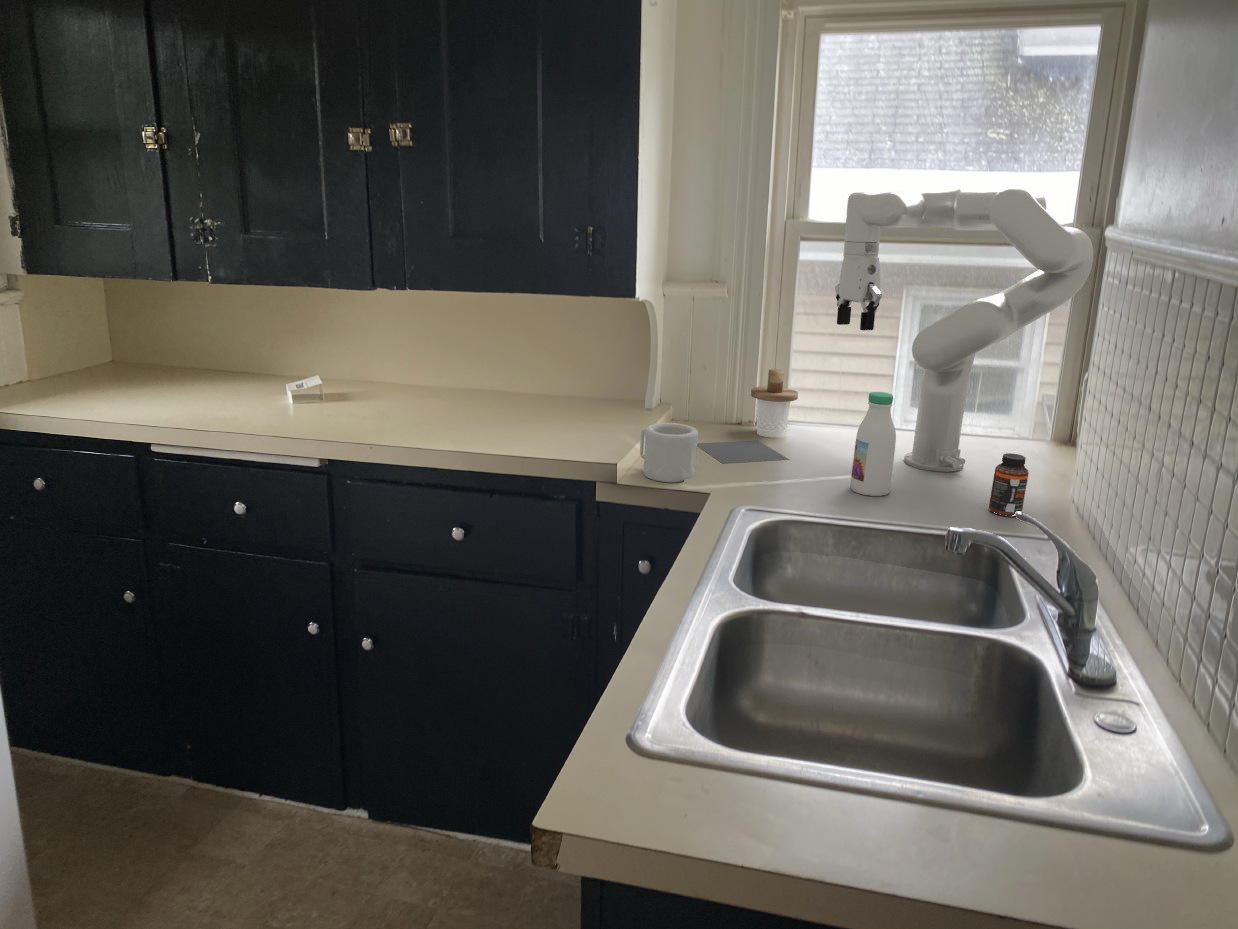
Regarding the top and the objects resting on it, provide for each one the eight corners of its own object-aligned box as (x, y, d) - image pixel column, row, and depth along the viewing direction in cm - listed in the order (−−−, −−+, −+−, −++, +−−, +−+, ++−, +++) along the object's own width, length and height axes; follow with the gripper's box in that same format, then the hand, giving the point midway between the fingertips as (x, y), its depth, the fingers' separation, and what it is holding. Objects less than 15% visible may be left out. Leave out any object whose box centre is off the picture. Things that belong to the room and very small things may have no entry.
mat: (789, 463, 209) (789, 459, 209) (722, 467, 205) (722, 463, 204) (757, 443, 224) (757, 440, 224) (693, 446, 219) (694, 443, 219)
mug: (705, 476, 198) (709, 429, 195) (672, 487, 190) (675, 438, 187) (656, 461, 207) (658, 416, 204) (622, 471, 199) (624, 424, 196)
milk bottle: (890, 488, 195) (902, 392, 189) (888, 499, 188) (900, 399, 182) (852, 483, 197) (863, 387, 191) (847, 494, 190) (859, 395, 184)
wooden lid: (806, 400, 224) (808, 374, 222) (763, 402, 221) (765, 376, 219) (784, 390, 234) (786, 365, 232) (743, 392, 231) (745, 366, 229)
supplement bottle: (1018, 520, 179) (1028, 462, 176) (985, 513, 182) (994, 456, 179) (1024, 511, 184) (1033, 455, 181) (991, 505, 187) (1000, 449, 184)
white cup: (786, 442, 226) (790, 401, 223) (753, 439, 227) (756, 398, 224) (787, 434, 233) (791, 394, 230) (755, 431, 235) (758, 391, 232)
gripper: (898, 252, 206) (890, 332, 211) (854, 247, 222) (848, 321, 227) (868, 252, 204) (861, 333, 208) (826, 247, 220) (820, 322, 224)
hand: (854, 327), depth 217 cm, fingers open, 9 cm apart
